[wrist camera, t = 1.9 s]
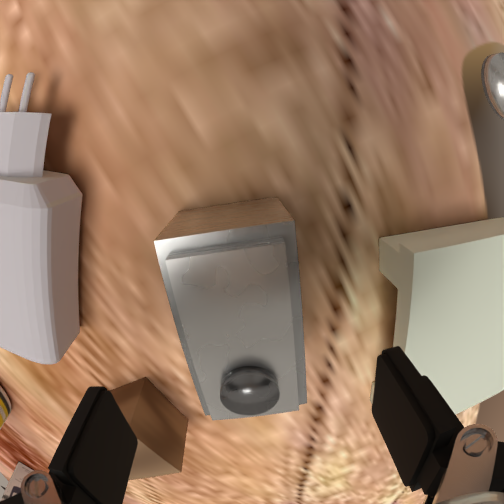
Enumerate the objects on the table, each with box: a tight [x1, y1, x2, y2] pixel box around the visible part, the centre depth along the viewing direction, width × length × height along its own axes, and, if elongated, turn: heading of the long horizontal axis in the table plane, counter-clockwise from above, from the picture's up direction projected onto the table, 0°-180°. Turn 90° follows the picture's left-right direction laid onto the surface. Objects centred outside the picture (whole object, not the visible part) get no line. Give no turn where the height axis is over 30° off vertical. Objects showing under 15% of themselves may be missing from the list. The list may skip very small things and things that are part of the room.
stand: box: [370, 217, 504, 414], centre depth 17 cm, size 14×12×4 cm
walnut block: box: [110, 377, 188, 480], centre depth 18 cm, size 5×5×5 cm
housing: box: [154, 197, 307, 420], centre depth 14 cm, size 9×5×7 cm, turn 8°
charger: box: [0, 72, 83, 364], centre depth 13 cm, size 5×9×15 cm
